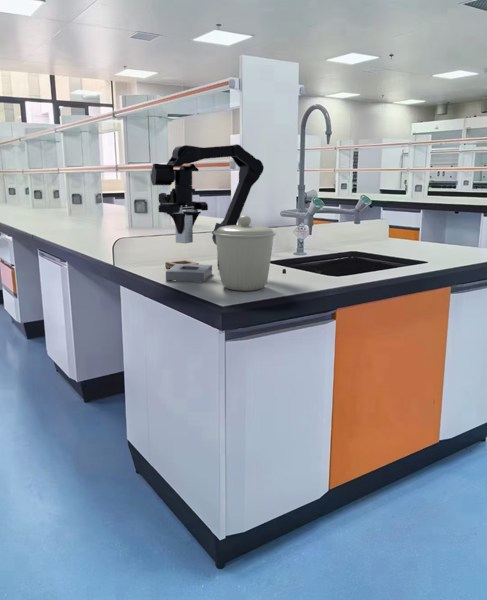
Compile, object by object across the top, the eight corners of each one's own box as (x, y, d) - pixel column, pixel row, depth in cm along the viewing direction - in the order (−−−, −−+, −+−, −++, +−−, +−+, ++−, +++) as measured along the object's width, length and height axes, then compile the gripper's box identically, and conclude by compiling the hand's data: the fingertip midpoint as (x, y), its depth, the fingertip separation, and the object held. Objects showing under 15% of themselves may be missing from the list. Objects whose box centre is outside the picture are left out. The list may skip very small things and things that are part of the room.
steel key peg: (183, 241, 179) (183, 214, 177) (192, 242, 177) (192, 215, 174) (175, 242, 176) (175, 215, 173) (184, 243, 173) (184, 216, 171)
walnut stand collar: (186, 265, 190) (185, 259, 190) (199, 268, 184) (198, 263, 183) (165, 267, 185) (165, 262, 185) (178, 271, 179) (178, 265, 178)
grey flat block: (211, 273, 175) (211, 264, 175) (203, 282, 162) (203, 272, 161) (176, 272, 177) (176, 263, 176) (165, 280, 163) (165, 271, 162)
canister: (243, 278, 168) (244, 212, 163) (286, 287, 156) (289, 216, 151) (200, 287, 155) (200, 215, 150) (244, 297, 143) (246, 219, 138)
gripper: (183, 184, 183) (184, 229, 187) (145, 185, 168) (146, 233, 172) (208, 185, 177) (208, 231, 181) (171, 186, 162) (172, 236, 166)
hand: (184, 233), depth 175 cm, fingers closed on steel key peg, 4 cm apart
